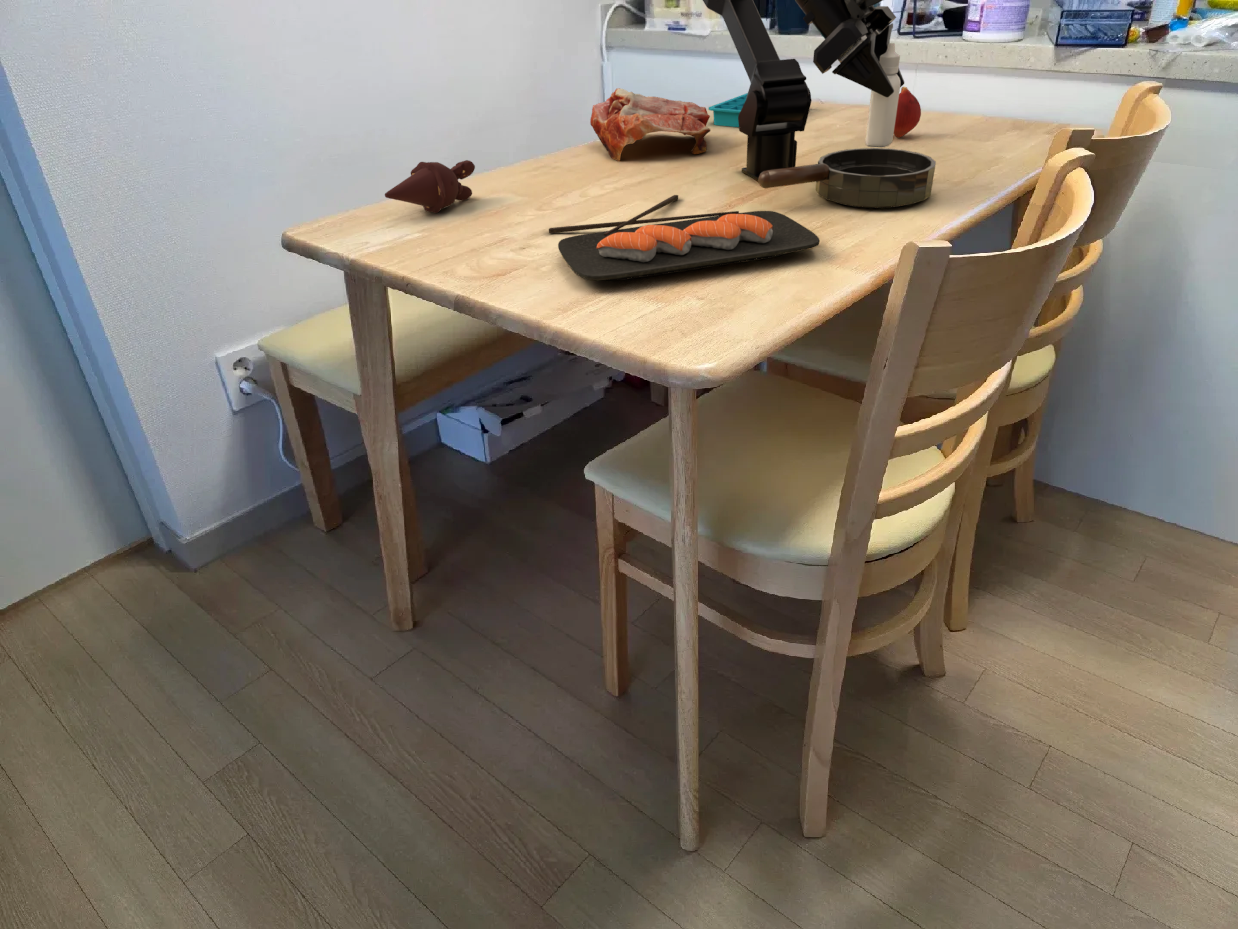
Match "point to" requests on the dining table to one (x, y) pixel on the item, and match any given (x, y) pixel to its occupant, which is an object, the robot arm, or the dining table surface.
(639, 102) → the meat
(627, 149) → the dining table surface
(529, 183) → the dining table surface
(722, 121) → the ice cube tray
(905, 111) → the onion
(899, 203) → the dark frying pan
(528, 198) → the dining table surface
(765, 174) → the handle
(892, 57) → the eye dropper bottle
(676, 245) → the sushi plate
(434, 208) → the icecream
